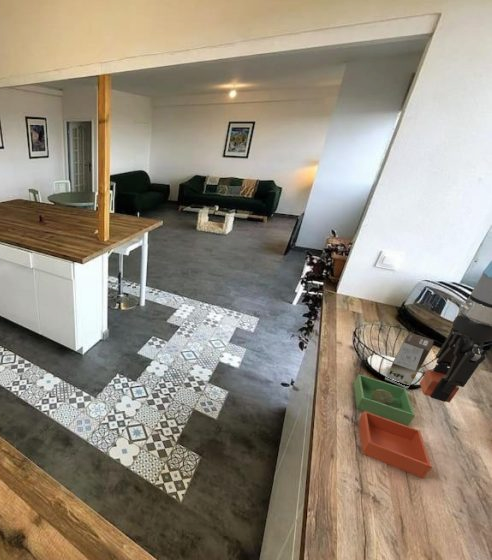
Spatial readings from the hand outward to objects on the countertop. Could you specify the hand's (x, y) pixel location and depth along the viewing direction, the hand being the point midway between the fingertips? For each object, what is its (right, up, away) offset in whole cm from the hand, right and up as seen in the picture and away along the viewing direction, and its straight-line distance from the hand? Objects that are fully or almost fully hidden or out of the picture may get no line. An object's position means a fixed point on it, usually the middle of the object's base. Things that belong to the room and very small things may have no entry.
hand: (434, 391), depth 83 cm
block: (0, 0, 0) cm, 0 cm away
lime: (-1, -9, +15) cm, 18 cm away
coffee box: (+15, -5, +26) cm, 30 cm away
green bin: (-1, -9, +16) cm, 18 cm away
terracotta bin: (-11, -16, +2) cm, 19 cm away
